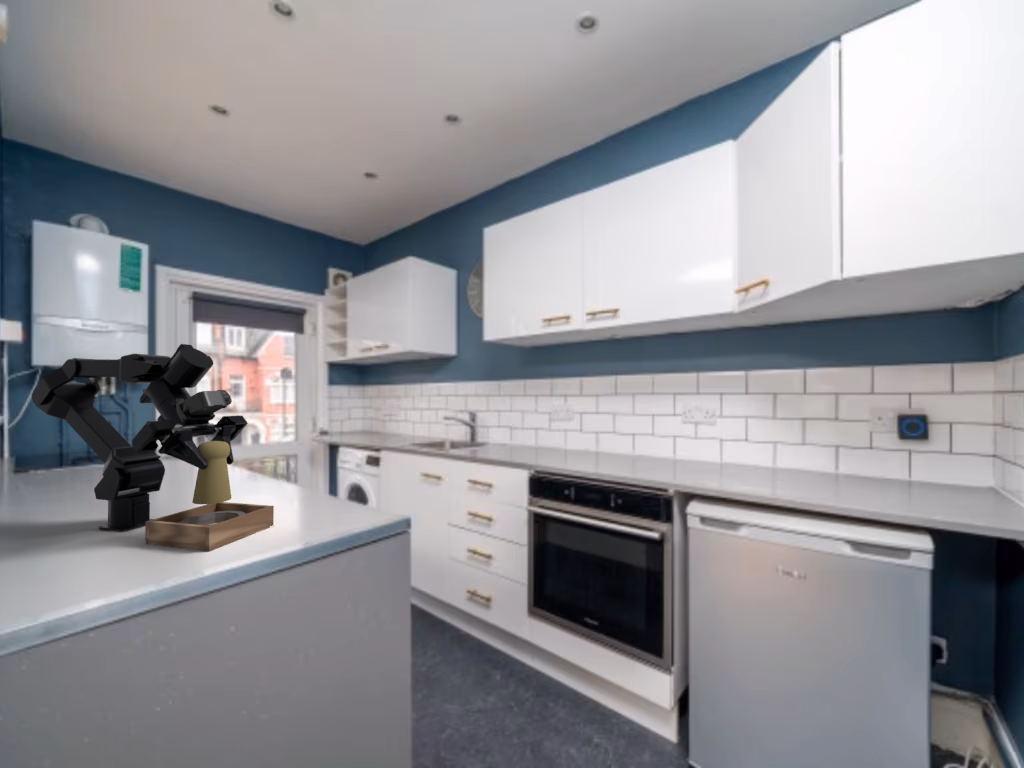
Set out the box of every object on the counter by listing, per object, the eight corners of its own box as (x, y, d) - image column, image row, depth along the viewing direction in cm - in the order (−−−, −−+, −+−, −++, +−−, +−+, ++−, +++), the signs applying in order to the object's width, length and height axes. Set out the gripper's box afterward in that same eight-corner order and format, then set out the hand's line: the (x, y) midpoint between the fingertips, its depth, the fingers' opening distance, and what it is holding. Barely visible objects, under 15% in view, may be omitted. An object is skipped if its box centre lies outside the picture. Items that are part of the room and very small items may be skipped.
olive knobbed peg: (222, 503, 78) (224, 443, 78) (185, 504, 77) (186, 443, 77) (237, 495, 84) (238, 439, 84) (202, 496, 82) (204, 439, 83)
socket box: (145, 544, 75) (145, 521, 75) (216, 520, 89) (217, 501, 89) (209, 551, 72) (209, 527, 72) (273, 525, 86) (273, 505, 86)
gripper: (146, 373, 72) (195, 442, 69) (241, 377, 90) (283, 431, 87) (111, 418, 74) (157, 487, 71) (211, 413, 92) (251, 467, 89)
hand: (218, 465), depth 80 cm, fingers closed on olive knobbed peg, 5 cm apart
